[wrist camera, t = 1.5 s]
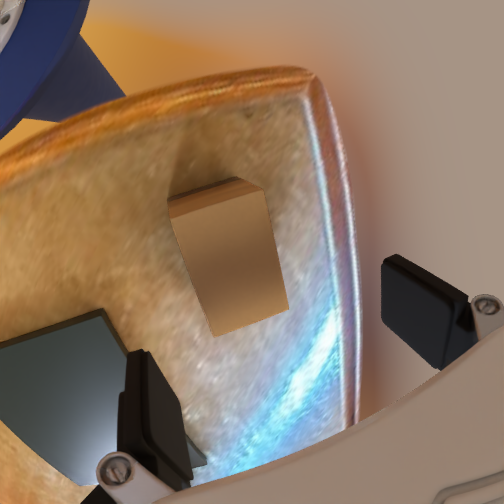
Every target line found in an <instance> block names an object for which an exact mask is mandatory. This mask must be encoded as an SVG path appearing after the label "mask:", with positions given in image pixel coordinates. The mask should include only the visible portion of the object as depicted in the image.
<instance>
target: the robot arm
mask: <svg viewBox="0 0 504 504" xmlns="http://www.w3.org/2000/svg"><path fill="white" fill-rule="evenodd" d="M24 4H25V0H0V53H1V51H2V50H3V48H4V47H5V45H6V44H7V42H8V41H9V39H10V37H11V35H12V33H13V31H14V29H15V27H16V25H17V23H18V20H19V18H20V16H21V13H22V11H23V7H24ZM381 318H382V321H383V323H384V324H385V325H387V327H389V328H390V329H391V330H392V331H393V332H394V333H395V334H397V335H398V336H399V337H400V338H401V339H402V340H403V341H404V342H406V343H407V344H408V345H409V346H410V347H411V348H412V349H413V350H414V351H416V352H417V353H418V354H419V355H420V356H421V357H422V358H423V359H425V360H426V361H427V362H428V363H429V364H430V365H431V366H432V367H433V368H435V369H437V368H438V369H439V370H440V372H439V373H437V374H436V375H435V376H433V377H432V378H430V379H429V380H428V381H426V382H425V383H423V384H422V385H420V386H419V387H417V388H416V389H414V390H413V391H411V392H410V393H408V394H407V395H405V396H403V397H402V398H400V399H399V400H397V401H396V402H394V403H392V404H391V405H389V406H387V407H386V408H384V409H382V410H380V411H379V412H377V413H375V414H373V415H372V416H370V417H368V418H366V419H364V420H363V421H361V422H359V423H357V424H355V425H353V426H351V427H349V428H347V429H345V430H343V431H341V432H339V433H337V434H335V435H333V436H331V437H329V438H327V439H325V440H323V441H321V442H318V443H316V444H314V445H312V446H309V447H307V448H305V449H302V450H300V451H298V452H295V453H293V454H290V455H288V456H285V457H283V458H280V459H277V460H275V461H272V462H269V463H267V464H264V465H261V466H258V467H255V468H252V469H249V470H246V471H243V472H240V473H237V474H234V475H231V476H228V477H224V478H221V479H217V480H214V481H210V482H207V483H204V484H201V485H197V486H194V487H191V485H190V480H193V479H194V477H193V472H192V467H191V462H190V457H189V452H188V446H187V441H186V436H185V430H184V424H183V418H182V412H181V406H180V402H179V400H178V398H177V396H176V395H175V393H174V392H173V390H172V388H171V387H170V385H169V384H168V382H167V380H166V379H165V377H164V375H163V374H162V372H161V370H160V369H159V367H158V365H157V364H156V362H155V360H154V358H153V357H152V355H151V353H150V352H149V351H147V352H145V351H144V350H143V349H139V350H136V351H133V352H129V353H128V354H127V361H126V374H125V391H123V392H120V393H119V397H118V416H117V452H112V453H110V454H107V455H106V456H104V457H103V458H102V459H101V460H100V462H99V463H98V465H97V467H96V479H97V481H98V483H99V484H98V485H97V486H96V487H95V489H94V490H93V491H92V492H91V493H90V494H89V495H88V496H87V497H86V498H85V499H84V500H83V501H82V502H81V503H80V504H504V306H503V304H502V302H501V301H500V300H499V299H498V298H496V297H494V296H491V295H488V294H482V295H478V296H475V297H474V298H473V299H472V301H471V303H469V302H468V295H466V294H465V293H463V292H462V291H460V290H458V289H457V288H455V287H453V286H452V285H450V284H448V283H447V282H445V281H443V280H442V279H440V278H438V277H437V276H435V275H433V274H432V273H430V272H428V271H427V270H425V269H423V268H421V267H420V266H418V265H416V264H414V263H413V262H411V261H409V260H407V259H405V258H404V257H402V256H400V255H398V254H394V255H392V256H390V257H387V258H385V259H384V261H383V264H382V265H381Z"/></svg>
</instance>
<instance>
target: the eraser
mask: <svg viewBox="0 0 504 504" xmlns="http://www.w3.org/2000/svg"><path fill="white" fill-rule="evenodd" d="M167 202H168V210H169V217H170V222H171V225H172V228H173V230H174V233H175V236H176V239H177V242H178V245H179V248H180V251H181V253H182V256H183V259H184V262H185V265H186V267H187V270H188V273H189V275H190V278H191V281H192V284H193V286H194V289H195V291H196V294H197V297H198V299H199V302H200V304H201V307H202V310H203V312H204V315H205V317H206V320H207V322H208V325H209V327H210V330H211V332H212V335H213V337H217V336H220V335H223V334H226V333H228V332H231V331H234V330H237V329H239V328H242V327H245V326H248V325H250V324H253V323H256V322H258V321H261V320H263V319H266V318H269V317H271V316H274V315H276V314H279V313H281V312H284V311H286V310H289V305H288V300H287V296H286V291H285V286H284V281H283V276H282V272H281V267H280V262H279V258H278V253H277V248H276V244H275V239H274V235H273V230H272V226H271V221H270V217H269V212H268V208H267V203H266V199H265V194H264V190H263V189H262V188H260V187H258V186H256V185H254V184H252V183H250V182H248V181H246V180H244V179H241V178H239V177H233V178H229V179H226V180H223V181H219V182H216V183H213V184H210V185H206V186H203V187H200V188H197V189H194V190H191V191H188V192H184V193H181V194H178V195H175V196H172V197H170V198H168V199H167Z"/></svg>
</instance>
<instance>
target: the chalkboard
mask: <svg viewBox="0 0 504 504" xmlns="http://www.w3.org/2000/svg"><path fill="white" fill-rule="evenodd" d="M128 353H129V352H128V351H127V349H126V348H125V346H124V344H123V343H122V341H121V339H120V337H119V336H118V334H117V332H116V331H115V329H114V327H113V325H112V324H111V322H110V320H109V318H108V316H107V314H106V313H105V311H104V309H103V308H102V309H99V310H96V311H93V312H90V313H87V314H84V315H81V316H79V317H76V318H73V319H70V320H67V321H64V322H61V323H58V324H55V325H52V326H49V327H46V328H43V329H40V330H38V331H35V332H32V333H29V334H26V335H23V336H20V337H17V338H14V339H11V340H8V341H5V342H2V343H0V420H1V421H2V422H3V423H4V424H5V425H6V426H7V427H8V428H9V429H10V430H11V431H12V432H13V433H14V434H15V435H16V436H17V437H19V438H20V439H21V440H22V441H23V442H24V443H25V444H26V445H27V446H28V447H30V448H31V449H32V450H33V451H34V452H35V453H37V454H38V455H39V456H40V457H41V458H43V459H44V460H45V461H46V462H48V463H49V464H50V465H51V466H53V467H54V468H55V469H56V470H58V471H59V472H60V473H62V474H63V475H65V476H66V477H67V478H69V479H70V480H71V481H73V482H74V483H76V484H77V485H79V486H85V485H98V484H99V483H98V481H97V479H96V467H97V465H98V463H99V462H100V460H101V459H102V458H103V457H104V456H106V455H107V454H110V453H112V452H117V416H118V397H119V393H120V392H123V391H125V374H126V361H127V354H128ZM185 436H186V441H187V446H188V452H189V457H190V462H191V467H192V468H196V467H200V466H204V465H207V461H206V458H205V457H204V455H203V454H202V453H201V452H200V451H199V450H198V448H197V447H196V446H195V445H194V444H193V442H192V441H191V440H190V439H189V437H188V436H187V435H186V434H185Z"/></svg>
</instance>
